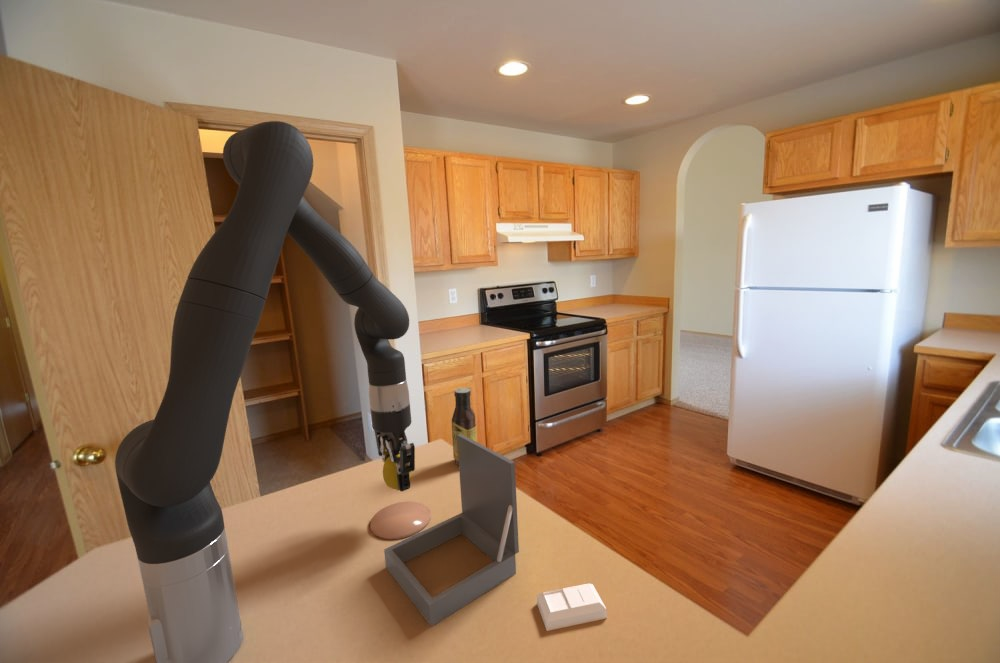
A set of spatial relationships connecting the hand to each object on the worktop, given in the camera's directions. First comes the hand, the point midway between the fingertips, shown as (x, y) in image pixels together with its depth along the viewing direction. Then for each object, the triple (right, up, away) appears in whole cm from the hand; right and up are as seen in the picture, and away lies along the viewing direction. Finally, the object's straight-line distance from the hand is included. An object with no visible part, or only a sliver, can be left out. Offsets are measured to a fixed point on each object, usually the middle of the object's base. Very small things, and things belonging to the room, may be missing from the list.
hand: (397, 483), depth 85 cm
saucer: (0, -8, +1) cm, 8 cm away
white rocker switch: (+31, -11, -23) cm, 40 cm away
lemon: (0, -2, 0) cm, 2 cm away
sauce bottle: (+12, -4, +25) cm, 28 cm away
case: (+12, -10, -14) cm, 21 cm away
